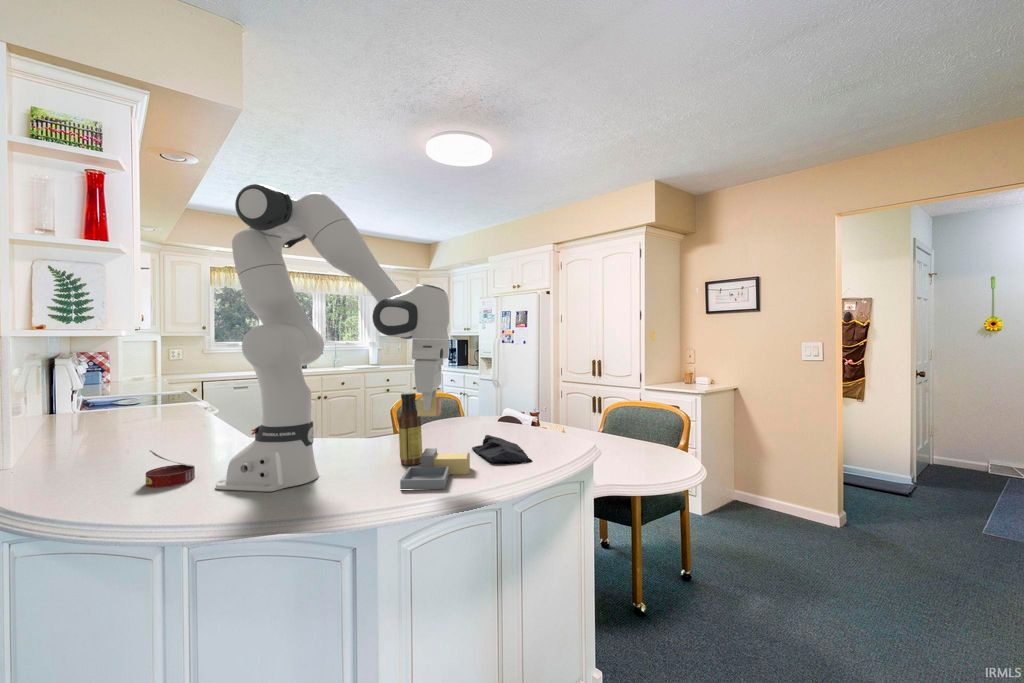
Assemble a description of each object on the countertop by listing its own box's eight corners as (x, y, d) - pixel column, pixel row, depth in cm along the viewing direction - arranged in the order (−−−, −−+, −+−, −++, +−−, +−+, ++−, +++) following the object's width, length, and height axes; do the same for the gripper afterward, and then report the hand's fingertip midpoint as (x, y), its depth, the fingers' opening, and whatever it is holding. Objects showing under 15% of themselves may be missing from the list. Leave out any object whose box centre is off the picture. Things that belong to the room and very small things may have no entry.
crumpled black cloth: (482, 468, 126) (482, 450, 126) (470, 449, 147) (470, 434, 147) (535, 464, 129) (535, 447, 129) (517, 446, 151) (516, 432, 151)
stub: (417, 416, 109) (417, 398, 109) (421, 412, 115) (421, 395, 115) (438, 416, 109) (438, 399, 109) (441, 412, 115) (441, 396, 115)
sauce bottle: (425, 460, 132) (424, 391, 132) (418, 466, 126) (418, 394, 126) (403, 460, 133) (402, 391, 133) (395, 465, 127) (395, 394, 127)
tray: (400, 490, 105) (400, 480, 105) (409, 476, 117) (409, 466, 117) (444, 489, 106) (444, 479, 106) (449, 475, 117) (449, 466, 117)
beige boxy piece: (421, 476, 117) (421, 455, 117) (425, 467, 125) (425, 448, 125) (468, 475, 117) (468, 455, 117) (470, 466, 125) (469, 447, 125)
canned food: (155, 498, 115) (159, 459, 120) (201, 490, 118) (203, 452, 122) (131, 490, 106) (136, 447, 110) (181, 481, 108) (184, 440, 112)
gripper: (423, 349, 122) (422, 401, 122) (410, 351, 102) (409, 413, 102) (447, 350, 123) (446, 401, 123) (438, 352, 102) (437, 414, 102)
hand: (429, 407), depth 112 cm, fingers closed on stub, 6 cm apart
